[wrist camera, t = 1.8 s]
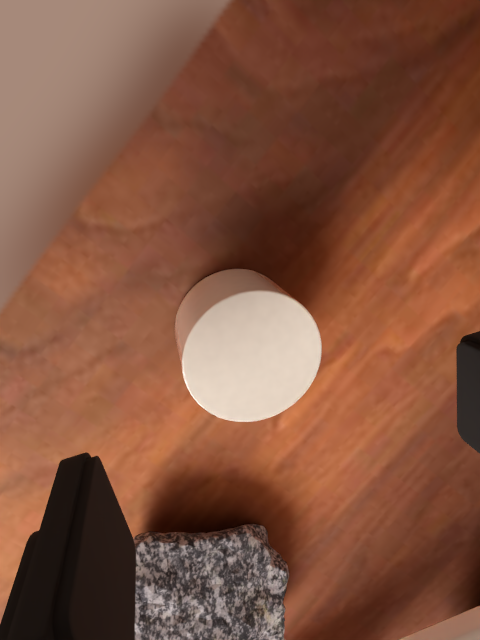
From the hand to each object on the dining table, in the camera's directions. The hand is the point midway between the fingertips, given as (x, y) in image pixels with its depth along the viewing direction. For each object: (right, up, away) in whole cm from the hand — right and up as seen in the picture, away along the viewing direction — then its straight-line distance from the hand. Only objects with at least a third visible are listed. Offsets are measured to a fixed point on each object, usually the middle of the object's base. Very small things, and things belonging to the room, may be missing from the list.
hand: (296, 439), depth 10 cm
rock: (-4, -10, +11) cm, 15 cm away
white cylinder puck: (-2, +3, +6) cm, 7 cm away
